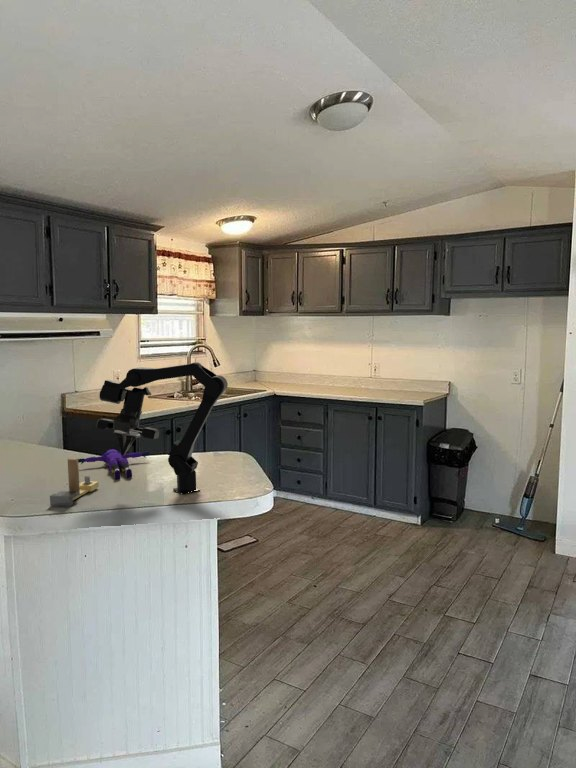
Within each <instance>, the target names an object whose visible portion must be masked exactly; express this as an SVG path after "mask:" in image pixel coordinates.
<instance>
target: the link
mask: <svg viewBox="0 0 576 768" xmlns="http://www.w3.org/2000/svg"><path fill="white" fill-rule="evenodd" d="M78 459H79V458H78V457H71V458H68V459H67V473H68V474H67V475H68V491H77V492H80V494H79V495H78V496H76V497H74V498H73V501H74V500H76V499H78V498H80V497H81V496H83V495H86V493H89V492H88V491H92V492H94V491H96V489H98V488H99V487H100V486H99V481H91V480H90V485H85V480H84V481H81V482H80V473H79V472H80V471H79V463H78ZM93 490H94V491H93Z"/></svg>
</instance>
